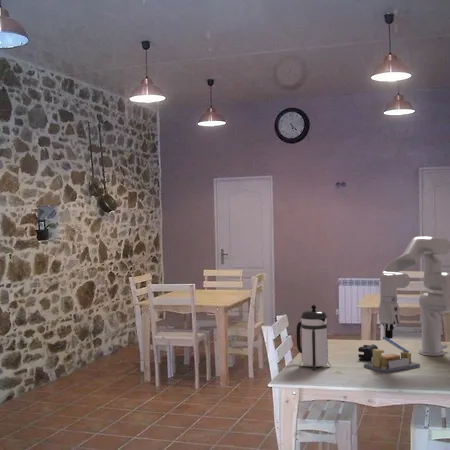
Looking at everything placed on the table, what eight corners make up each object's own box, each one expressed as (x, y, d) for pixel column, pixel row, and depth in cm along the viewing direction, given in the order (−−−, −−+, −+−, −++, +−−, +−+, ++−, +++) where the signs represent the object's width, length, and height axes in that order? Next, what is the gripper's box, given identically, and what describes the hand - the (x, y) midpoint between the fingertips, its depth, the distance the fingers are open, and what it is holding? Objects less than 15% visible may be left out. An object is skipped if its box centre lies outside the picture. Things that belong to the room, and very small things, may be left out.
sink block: (398, 361, 308) (398, 342, 308) (419, 367, 296) (419, 347, 296) (364, 367, 298) (363, 348, 298) (384, 373, 286) (383, 353, 285)
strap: (403, 352, 302) (404, 350, 302) (408, 353, 300) (409, 351, 300) (382, 338, 296) (383, 336, 296) (386, 339, 293) (387, 337, 294)
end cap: (371, 362, 308) (371, 348, 308) (358, 360, 312) (357, 347, 312) (378, 357, 317) (378, 344, 317) (365, 356, 321) (365, 343, 321)
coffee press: (332, 363, 307) (331, 302, 306) (328, 371, 291) (327, 307, 291) (297, 362, 311) (296, 302, 311) (292, 369, 296) (290, 306, 295)
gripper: (405, 300, 291) (406, 340, 291) (383, 297, 304) (384, 335, 304) (393, 301, 287) (393, 341, 287) (371, 298, 301) (372, 336, 301)
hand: (388, 338), depth 296 cm, fingers closed
